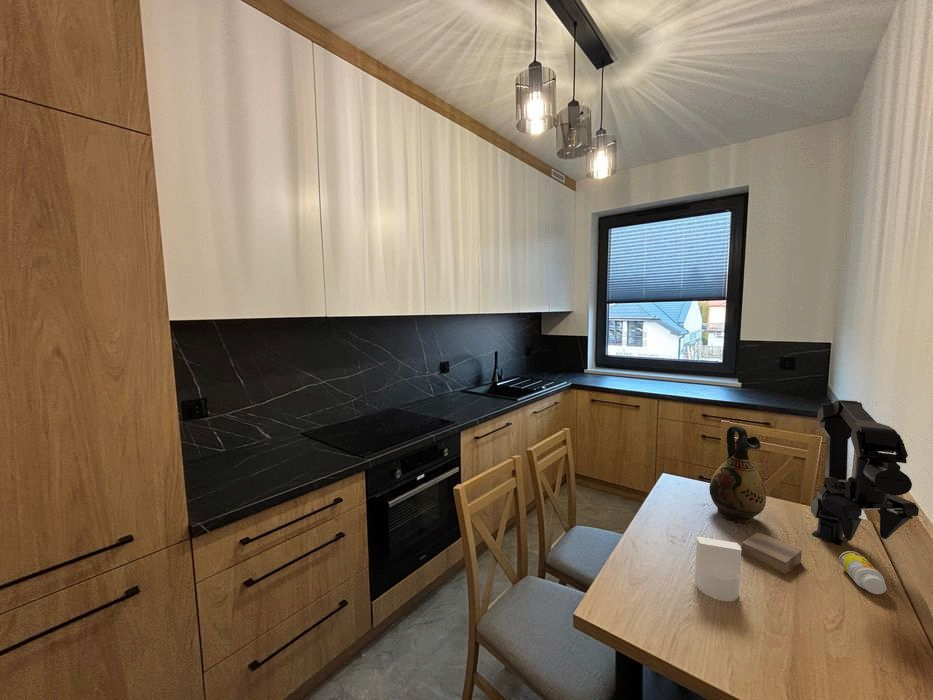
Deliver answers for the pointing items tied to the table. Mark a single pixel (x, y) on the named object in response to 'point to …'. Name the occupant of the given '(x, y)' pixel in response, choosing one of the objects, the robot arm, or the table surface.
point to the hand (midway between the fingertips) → (865, 538)
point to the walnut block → (771, 553)
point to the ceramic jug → (738, 480)
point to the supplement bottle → (862, 572)
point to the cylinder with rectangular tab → (718, 568)
